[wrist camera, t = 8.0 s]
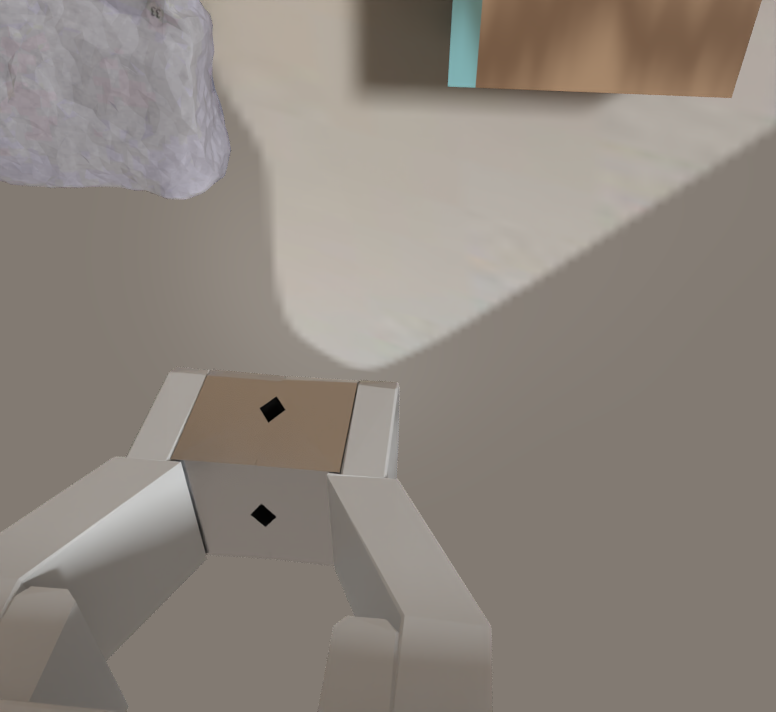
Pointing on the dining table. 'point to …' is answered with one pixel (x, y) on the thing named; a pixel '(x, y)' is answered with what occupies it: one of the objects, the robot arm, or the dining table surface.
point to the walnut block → (601, 45)
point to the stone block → (110, 96)
